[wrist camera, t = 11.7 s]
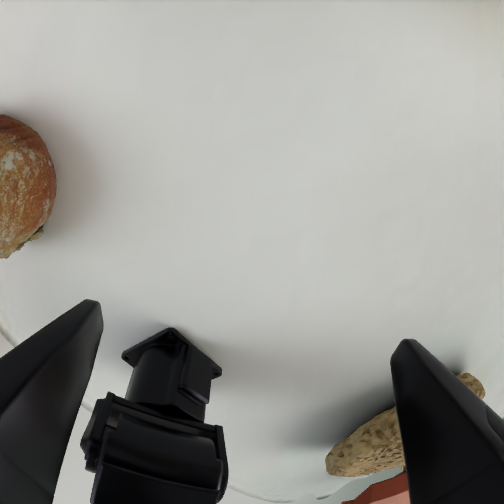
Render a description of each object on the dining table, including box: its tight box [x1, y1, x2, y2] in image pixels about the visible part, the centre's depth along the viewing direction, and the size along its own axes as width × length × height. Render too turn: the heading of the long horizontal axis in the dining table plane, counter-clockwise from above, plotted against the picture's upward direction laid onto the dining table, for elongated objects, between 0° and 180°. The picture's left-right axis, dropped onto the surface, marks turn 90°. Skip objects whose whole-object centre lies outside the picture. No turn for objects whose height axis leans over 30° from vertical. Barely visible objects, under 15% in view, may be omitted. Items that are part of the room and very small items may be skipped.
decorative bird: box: [342, 464, 410, 504], centre depth 35 cm, size 28×18×15 cm, turn 113°
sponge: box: [325, 373, 485, 477], centre depth 29 cm, size 13×8×20 cm
